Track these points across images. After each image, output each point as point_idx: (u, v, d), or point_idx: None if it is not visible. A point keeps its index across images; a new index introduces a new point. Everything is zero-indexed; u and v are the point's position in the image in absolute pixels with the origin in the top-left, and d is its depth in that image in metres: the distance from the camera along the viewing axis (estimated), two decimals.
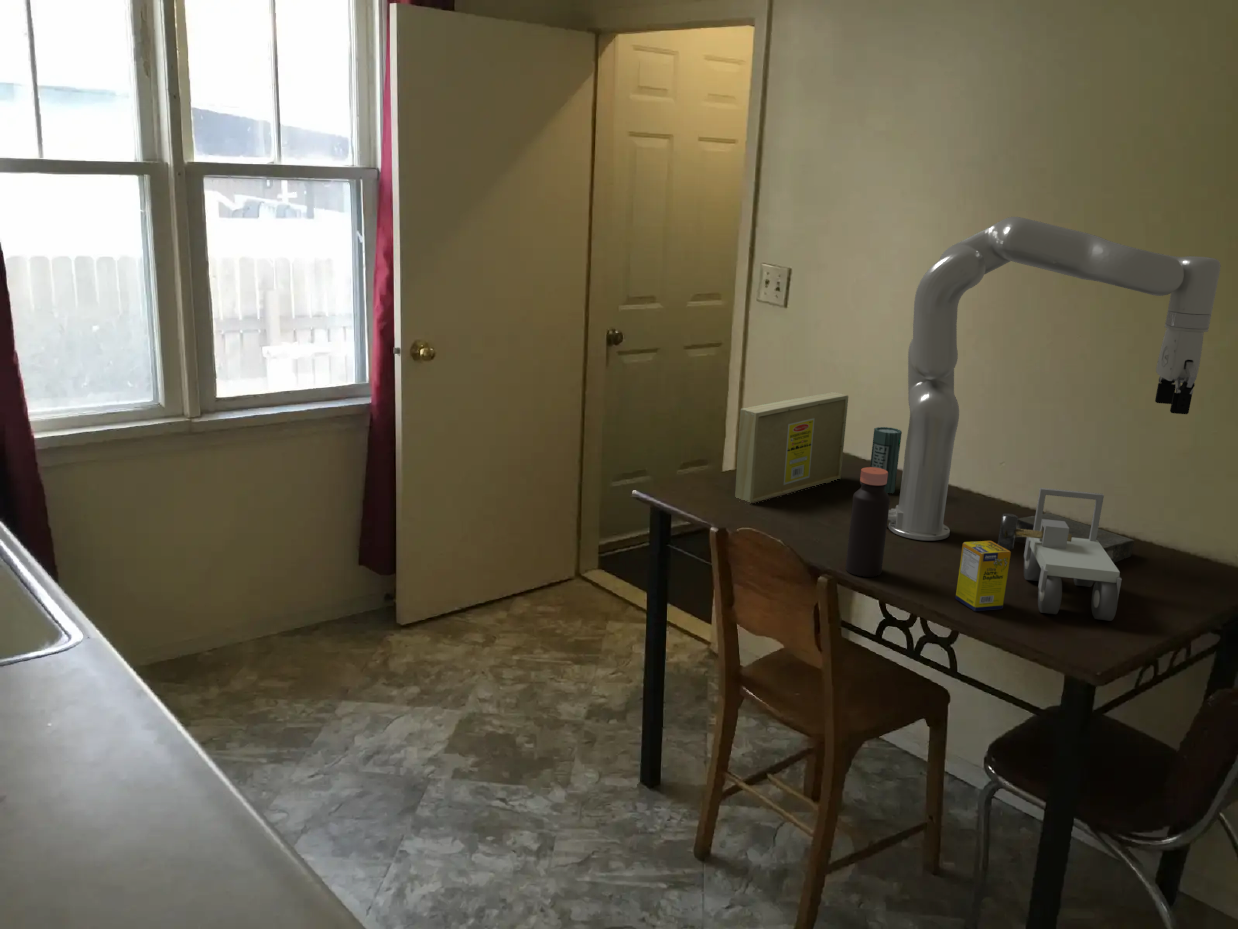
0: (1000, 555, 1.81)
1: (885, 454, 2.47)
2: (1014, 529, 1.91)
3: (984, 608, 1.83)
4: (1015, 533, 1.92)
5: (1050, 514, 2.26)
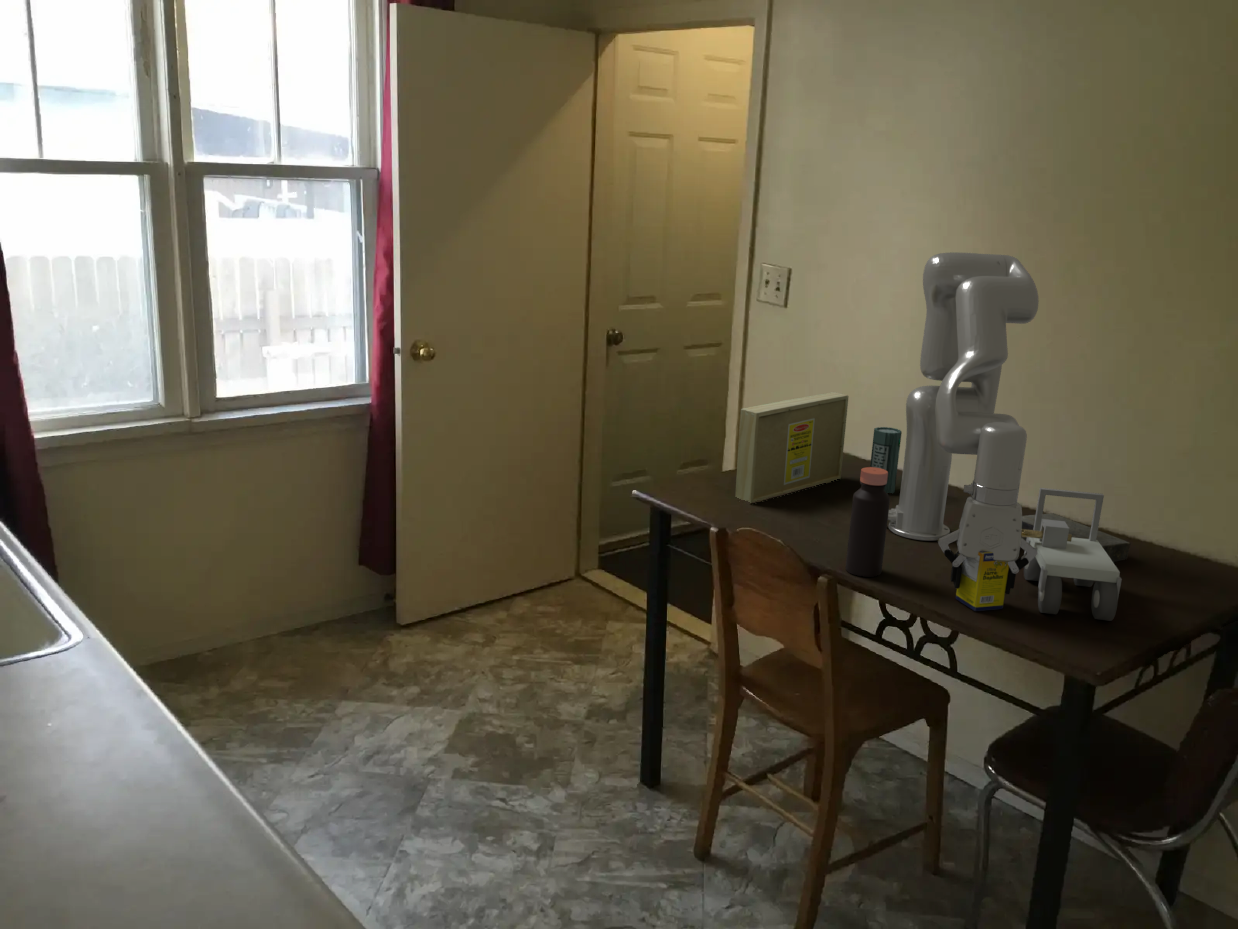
0: None
1: (885, 454, 2.47)
2: None
3: (984, 608, 1.83)
4: None
5: (1053, 514, 2.26)
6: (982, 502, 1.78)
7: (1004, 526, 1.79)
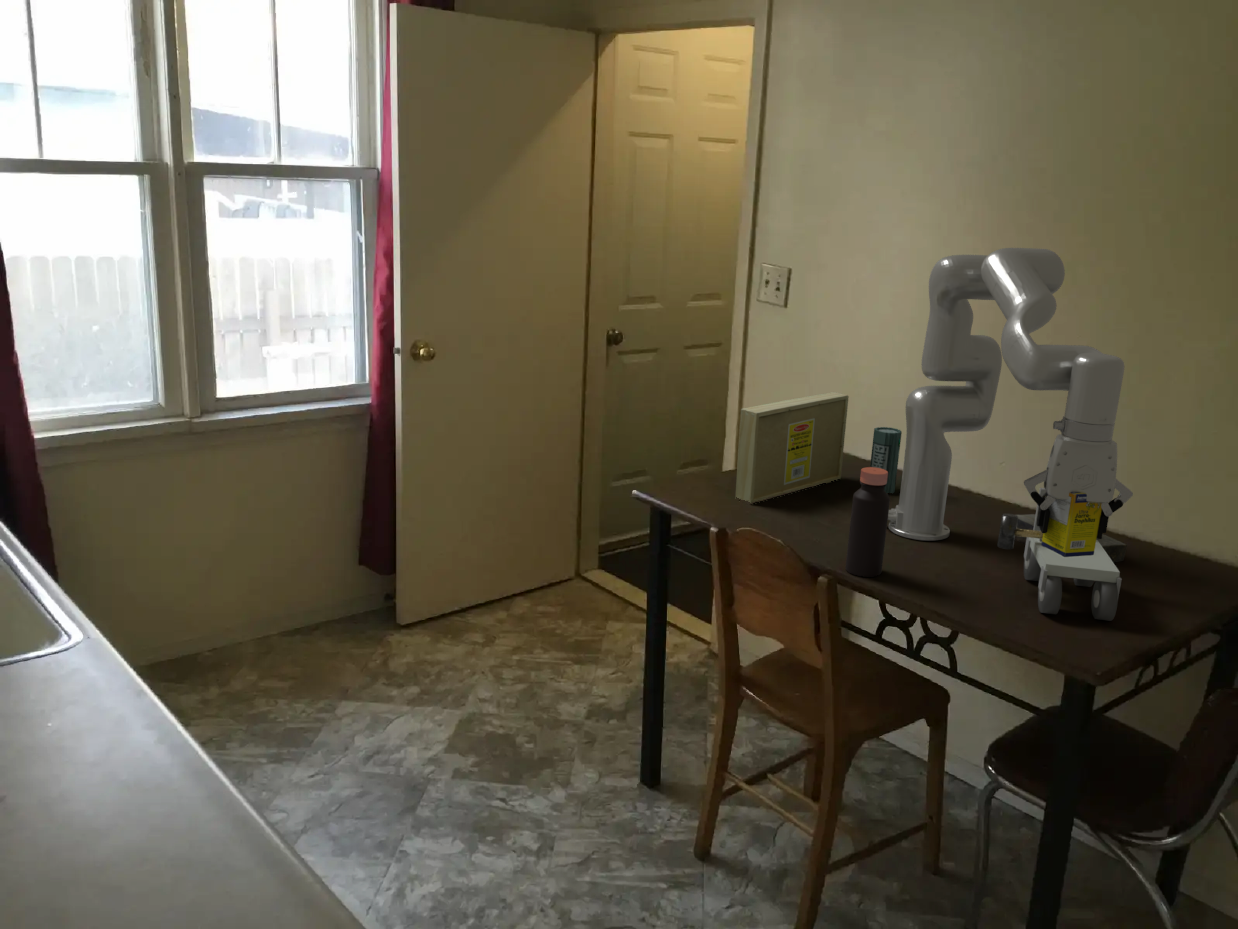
0: None
1: (885, 454, 2.47)
2: (1014, 529, 1.91)
3: (1075, 554, 1.70)
4: (1015, 533, 1.92)
5: None
6: (1075, 438, 1.66)
7: (1098, 464, 1.66)
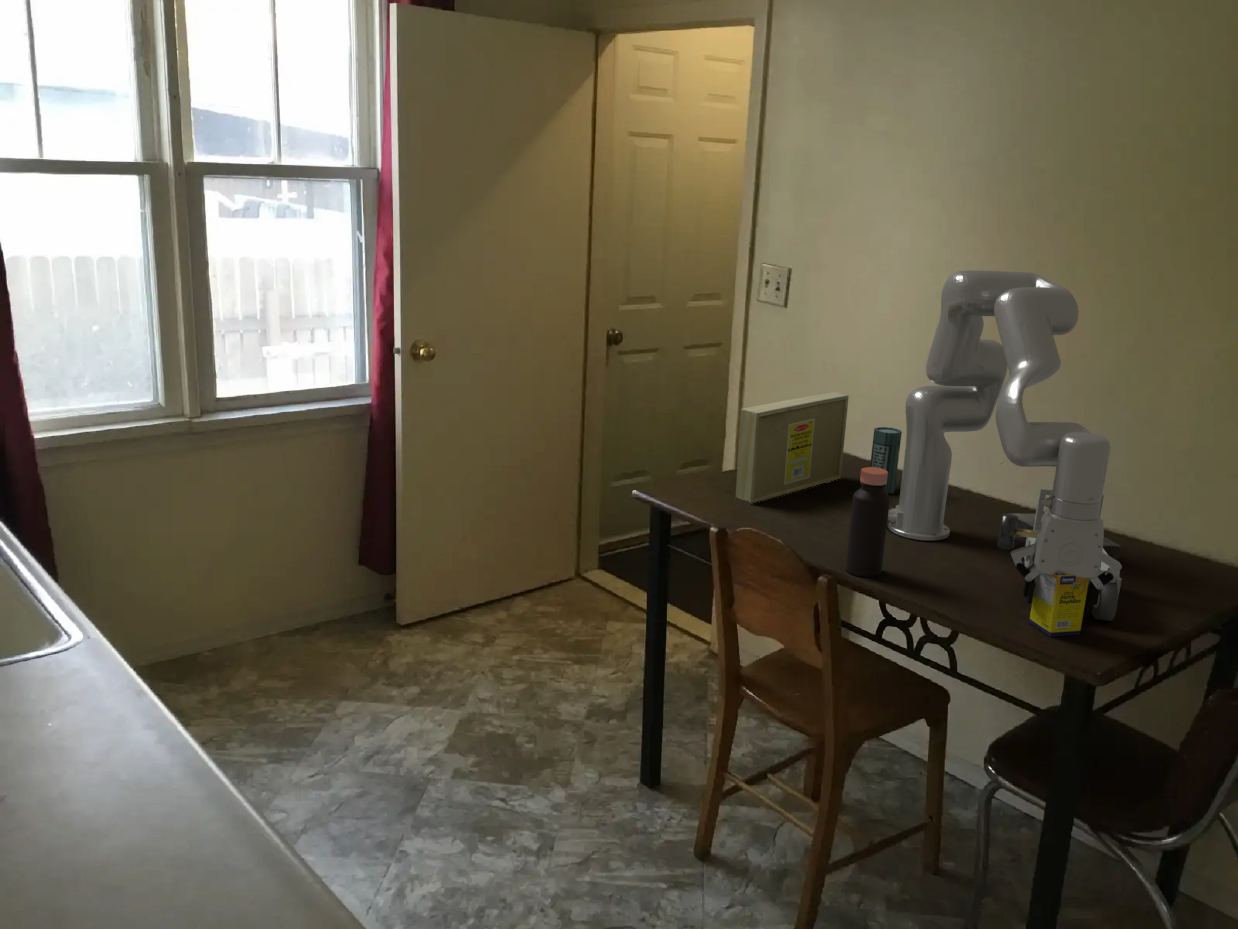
0: (1078, 578, 1.72)
1: (885, 454, 2.47)
2: (1014, 529, 1.91)
3: (1060, 633, 1.74)
4: (1015, 533, 1.92)
5: None
6: (1062, 516, 1.69)
7: (1085, 542, 1.70)
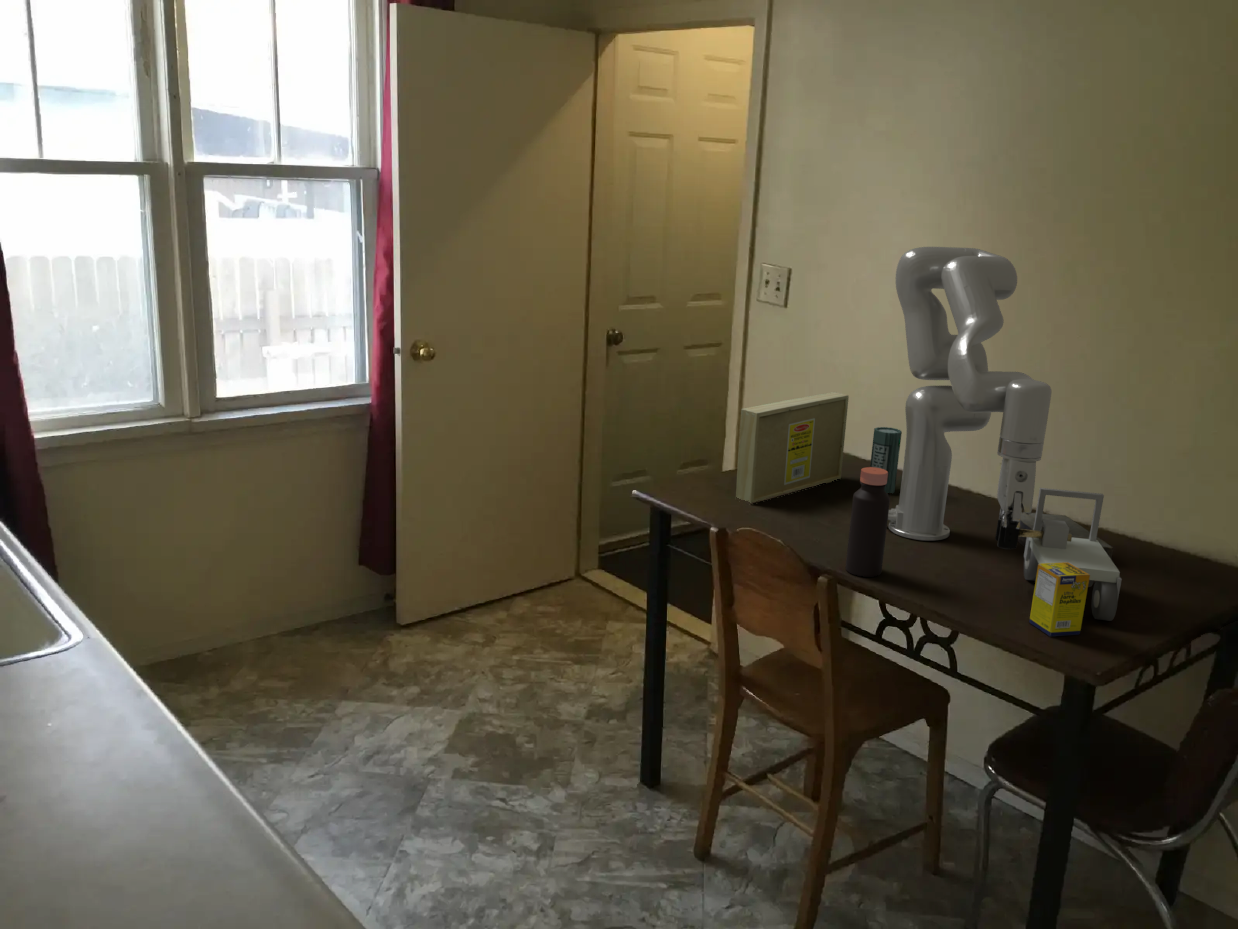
0: (1079, 578, 1.72)
1: (885, 454, 2.47)
2: None
3: (1060, 633, 1.74)
4: None
5: (1062, 516, 2.25)
6: (1038, 457, 1.86)
7: None
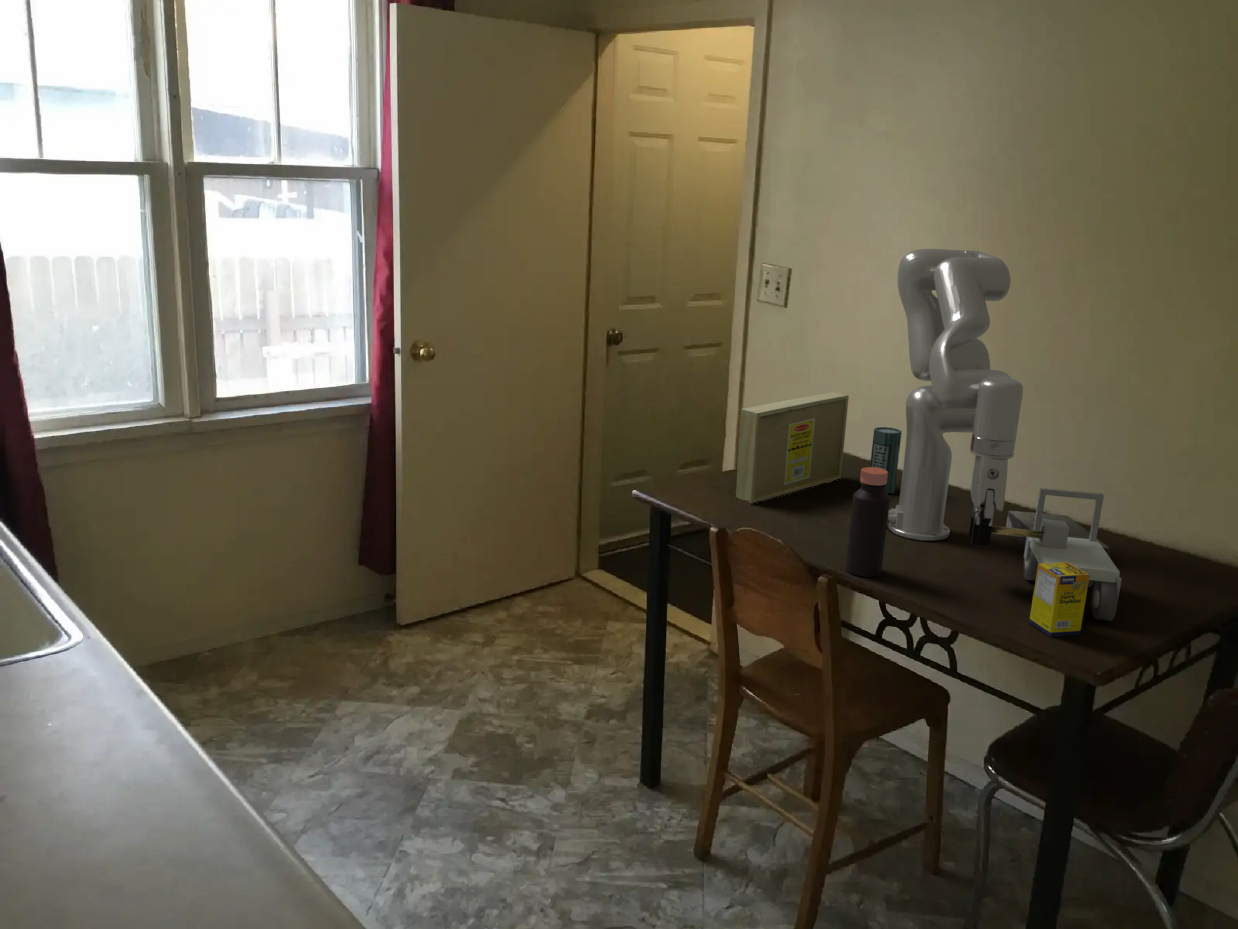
0: (1078, 578, 1.72)
1: (885, 454, 2.47)
2: None
3: (1060, 633, 1.74)
4: None
5: (1063, 516, 2.25)
6: (1010, 455, 1.87)
7: None
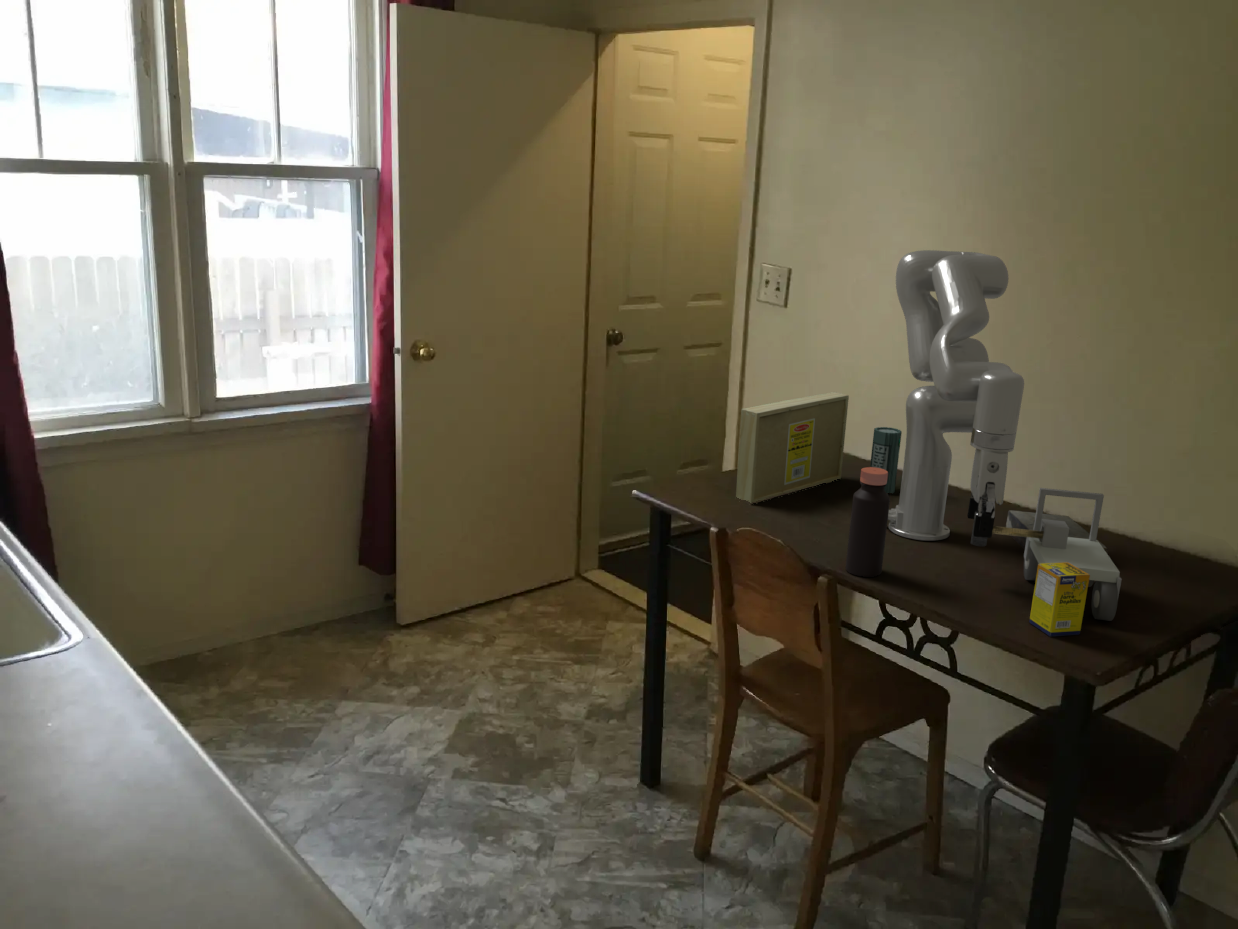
0: (1078, 578, 1.72)
1: (885, 454, 2.47)
2: None
3: (1060, 633, 1.74)
4: None
5: (1064, 516, 2.25)
6: (1011, 448, 1.87)
7: None
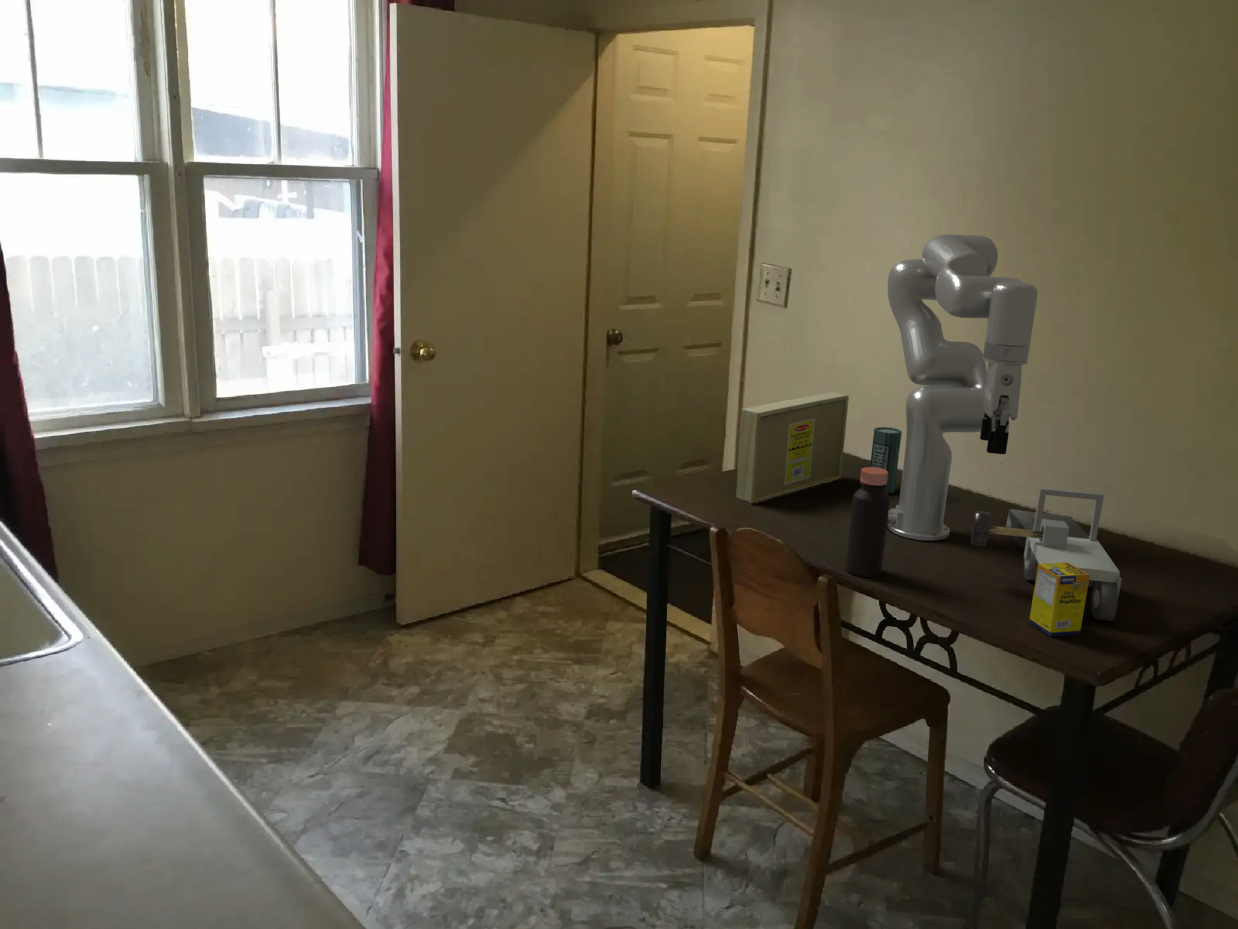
0: (1078, 578, 1.72)
1: (885, 454, 2.47)
2: (987, 526, 1.92)
3: (1060, 633, 1.74)
4: (988, 530, 1.92)
5: (1065, 517, 2.24)
6: (1024, 361, 1.82)
7: None
